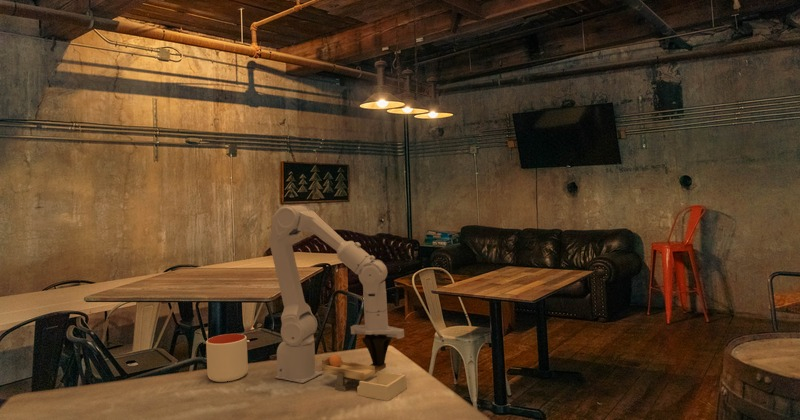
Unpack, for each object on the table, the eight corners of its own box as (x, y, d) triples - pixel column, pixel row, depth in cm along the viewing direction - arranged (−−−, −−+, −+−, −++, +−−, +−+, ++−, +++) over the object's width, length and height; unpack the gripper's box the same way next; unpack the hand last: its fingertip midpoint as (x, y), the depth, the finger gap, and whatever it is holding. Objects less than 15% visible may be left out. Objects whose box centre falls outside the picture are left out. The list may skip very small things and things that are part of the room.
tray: (357, 395, 116) (357, 381, 116) (376, 383, 124) (376, 370, 123) (388, 400, 112) (387, 386, 112) (406, 388, 119) (405, 374, 119)
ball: (324, 362, 124) (330, 353, 123) (332, 359, 127) (337, 350, 126) (333, 371, 123) (338, 362, 122) (340, 367, 126) (345, 358, 125)
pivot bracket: (335, 389, 120) (334, 372, 120) (352, 379, 126) (351, 363, 126) (345, 391, 119) (344, 374, 119) (362, 381, 125) (361, 365, 125)
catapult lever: (322, 372, 123) (322, 360, 123) (346, 360, 132) (346, 349, 132) (363, 380, 117) (362, 367, 117) (385, 367, 126) (385, 355, 126)
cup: (235, 384, 126) (234, 344, 126) (199, 382, 128) (198, 343, 128) (255, 370, 136) (253, 333, 136) (221, 369, 138) (219, 333, 138)
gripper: (342, 311, 125) (345, 366, 126) (392, 315, 118) (395, 373, 118) (358, 306, 132) (361, 358, 132) (407, 309, 124) (410, 364, 124)
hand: (378, 364), depth 125 cm, fingers closed, pressing on catapult lever
